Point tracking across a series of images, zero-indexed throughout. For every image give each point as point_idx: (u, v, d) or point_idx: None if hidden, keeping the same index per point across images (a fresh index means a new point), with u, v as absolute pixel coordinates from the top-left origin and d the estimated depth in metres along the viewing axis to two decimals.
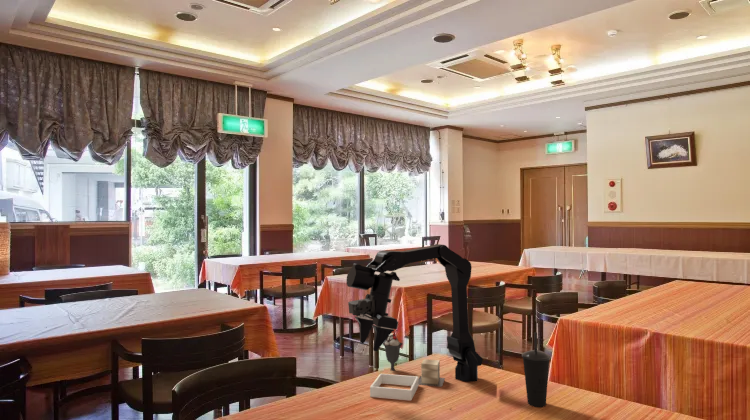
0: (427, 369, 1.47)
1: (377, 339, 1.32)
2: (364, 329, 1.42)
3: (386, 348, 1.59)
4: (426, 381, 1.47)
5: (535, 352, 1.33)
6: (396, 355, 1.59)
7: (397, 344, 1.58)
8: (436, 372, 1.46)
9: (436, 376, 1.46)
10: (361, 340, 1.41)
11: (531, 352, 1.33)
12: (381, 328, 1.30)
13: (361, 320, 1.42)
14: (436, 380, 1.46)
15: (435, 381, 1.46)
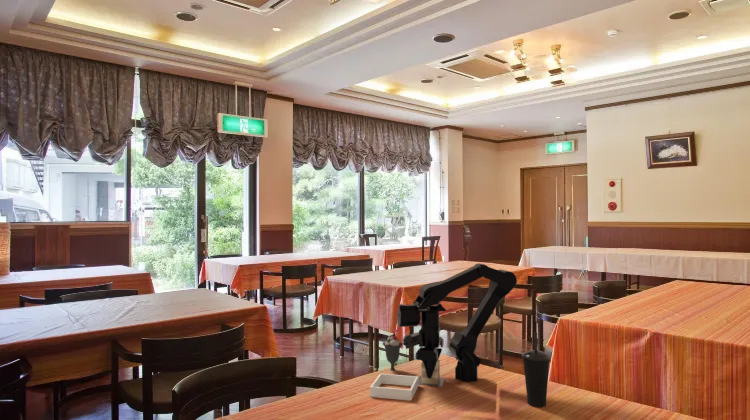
0: None
1: (427, 368, 1.46)
2: None
3: (386, 348, 1.59)
4: (426, 381, 1.47)
5: (535, 352, 1.33)
6: (396, 355, 1.59)
7: (397, 344, 1.58)
8: (436, 372, 1.46)
9: (436, 376, 1.46)
10: None
11: (531, 352, 1.33)
12: None
13: None
14: (436, 380, 1.46)
15: (435, 381, 1.46)
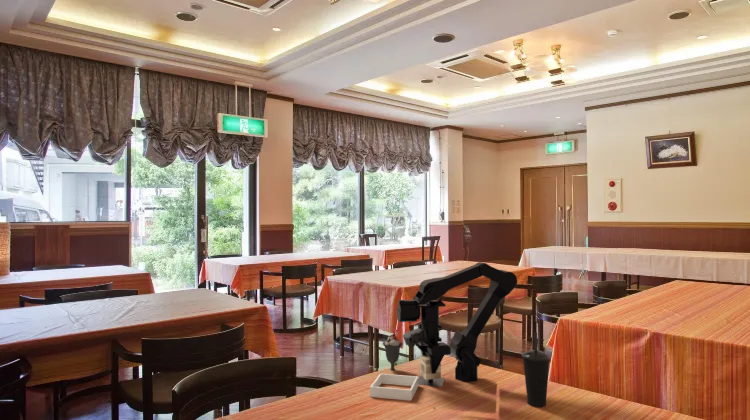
0: None
1: (433, 363, 1.46)
2: None
3: (386, 348, 1.59)
4: (430, 377, 1.47)
5: (535, 352, 1.33)
6: (396, 355, 1.59)
7: (397, 344, 1.58)
8: (439, 366, 1.47)
9: (439, 370, 1.47)
10: None
11: (531, 352, 1.33)
12: None
13: (422, 347, 1.52)
14: (440, 374, 1.47)
15: (438, 375, 1.47)
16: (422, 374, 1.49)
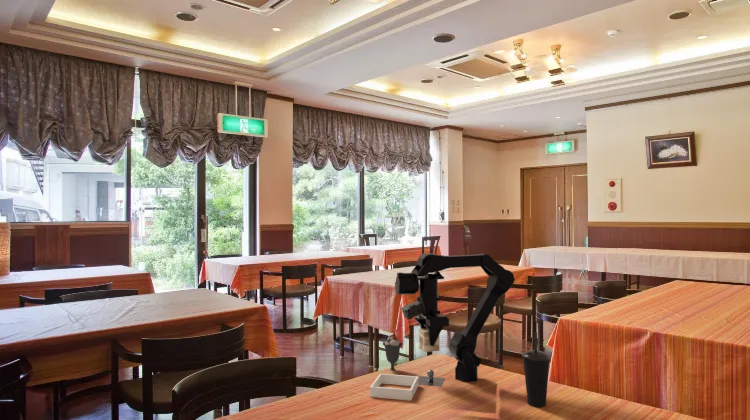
0: None
1: (432, 336, 1.45)
2: None
3: (386, 348, 1.59)
4: (428, 349, 1.46)
5: (535, 352, 1.33)
6: (396, 355, 1.59)
7: (397, 344, 1.58)
8: (438, 339, 1.47)
9: (438, 343, 1.47)
10: None
11: (531, 352, 1.33)
12: None
13: (420, 321, 1.52)
14: (438, 346, 1.47)
15: (437, 348, 1.47)
16: (421, 347, 1.49)
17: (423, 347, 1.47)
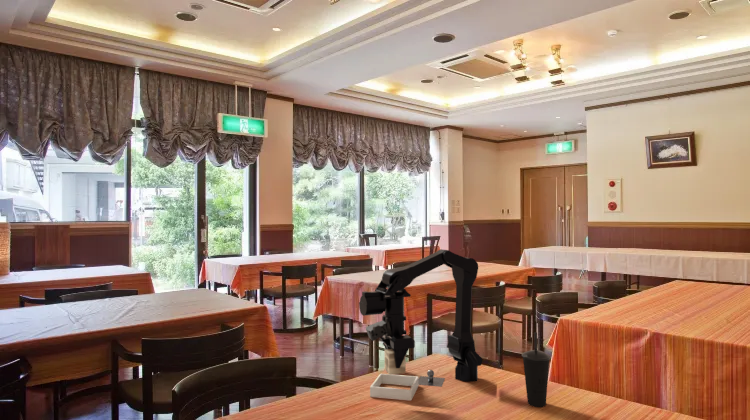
0: None
1: (397, 357, 1.37)
2: None
3: (386, 348, 1.59)
4: (394, 371, 1.38)
5: (535, 352, 1.33)
6: None
7: None
8: (404, 360, 1.39)
9: (404, 364, 1.39)
10: None
11: (531, 352, 1.33)
12: None
13: (386, 341, 1.44)
14: (404, 368, 1.39)
15: (403, 370, 1.39)
16: (386, 369, 1.41)
17: (388, 369, 1.39)
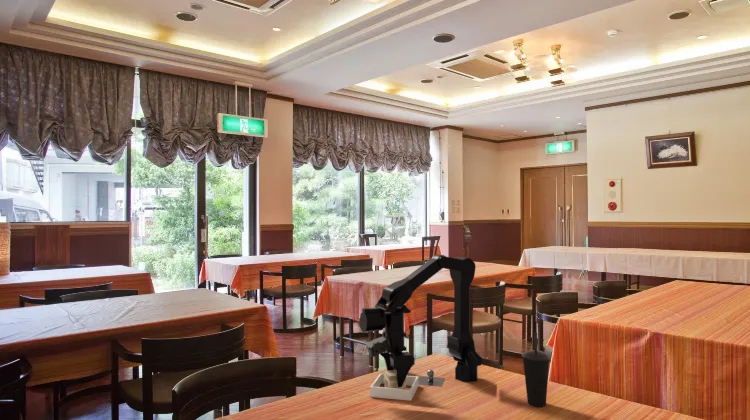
0: (395, 381, 1.38)
1: (399, 376, 1.35)
2: (389, 363, 1.46)
3: None
4: None
5: (535, 352, 1.33)
6: None
7: None
8: (404, 382, 1.39)
9: (404, 386, 1.39)
10: None
11: (531, 352, 1.33)
12: (399, 367, 1.33)
13: (385, 355, 1.46)
14: None
15: None
16: None
17: None
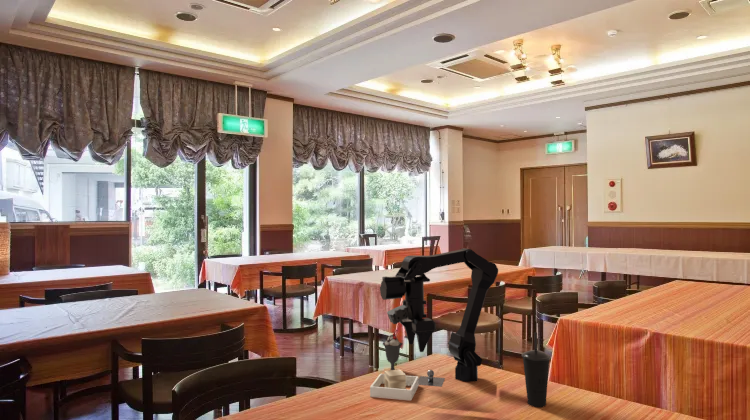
0: (395, 381, 1.38)
1: (421, 342, 1.40)
2: (410, 331, 1.50)
3: (386, 348, 1.59)
4: None
5: (535, 352, 1.33)
6: (396, 355, 1.59)
7: (397, 344, 1.58)
8: (404, 382, 1.39)
9: (404, 386, 1.39)
10: (409, 341, 1.50)
11: (531, 352, 1.33)
12: (420, 332, 1.38)
13: (405, 323, 1.50)
14: None
15: None
16: None
17: None
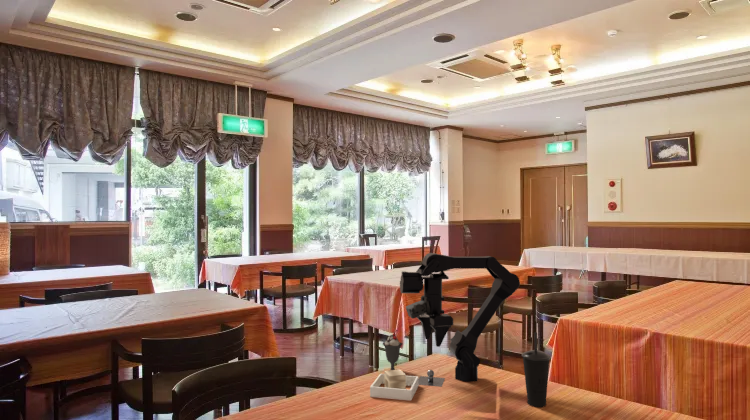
0: (395, 381, 1.38)
1: (438, 336, 1.45)
2: (426, 326, 1.55)
3: (386, 348, 1.59)
4: None
5: (535, 352, 1.33)
6: (396, 355, 1.59)
7: (397, 344, 1.58)
8: (404, 382, 1.39)
9: (404, 386, 1.39)
10: (426, 337, 1.54)
11: (531, 352, 1.33)
12: (438, 327, 1.42)
13: (422, 319, 1.55)
14: None
15: None
16: None
17: None
